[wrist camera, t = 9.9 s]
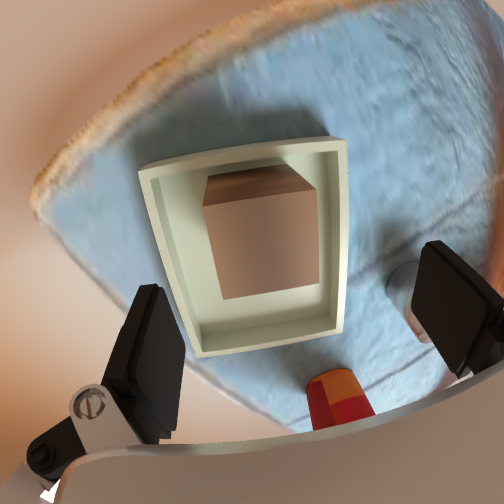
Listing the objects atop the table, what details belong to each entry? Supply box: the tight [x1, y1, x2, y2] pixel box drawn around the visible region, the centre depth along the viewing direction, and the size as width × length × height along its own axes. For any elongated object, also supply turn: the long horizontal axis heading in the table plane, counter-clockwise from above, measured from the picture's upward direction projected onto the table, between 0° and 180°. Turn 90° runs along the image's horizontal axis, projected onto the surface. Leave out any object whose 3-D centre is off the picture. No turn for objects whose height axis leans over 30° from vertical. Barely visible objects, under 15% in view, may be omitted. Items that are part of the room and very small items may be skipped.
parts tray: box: [138, 135, 349, 358], centre depth 20 cm, size 12×15×3 cm
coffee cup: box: [306, 368, 376, 431], centre depth 23 cm, size 8×8×15 cm
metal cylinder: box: [386, 261, 432, 343], centre depth 21 cm, size 4×4×6 cm
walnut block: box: [202, 164, 319, 300], centre depth 16 cm, size 5×5×6 cm
